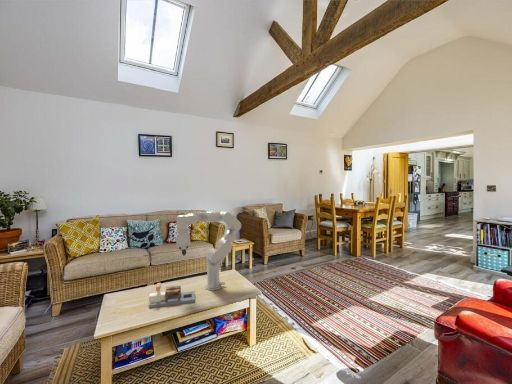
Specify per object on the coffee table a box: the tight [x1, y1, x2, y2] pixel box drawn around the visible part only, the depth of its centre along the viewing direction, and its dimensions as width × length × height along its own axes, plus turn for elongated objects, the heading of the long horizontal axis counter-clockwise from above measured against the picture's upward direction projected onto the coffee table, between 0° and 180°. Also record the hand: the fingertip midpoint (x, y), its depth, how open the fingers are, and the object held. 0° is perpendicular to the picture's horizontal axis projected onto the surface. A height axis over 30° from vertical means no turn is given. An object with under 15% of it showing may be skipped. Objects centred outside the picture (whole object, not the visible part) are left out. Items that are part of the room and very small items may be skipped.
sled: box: [148, 282, 165, 303], centre depth 174 cm, size 12×7×10 cm, turn 105°
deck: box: [149, 291, 196, 309], centre depth 177 cm, size 30×14×2 cm, turn 105°
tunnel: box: [164, 285, 182, 302], centre depth 177 cm, size 10×9×6 cm
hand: (184, 255), depth 186 cm, fingers closed
